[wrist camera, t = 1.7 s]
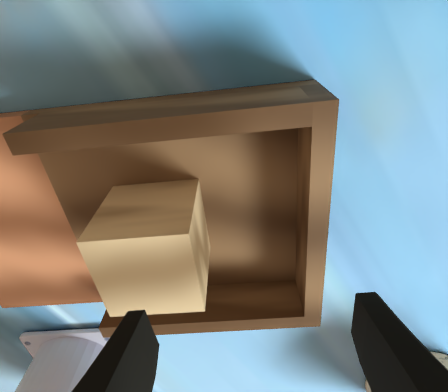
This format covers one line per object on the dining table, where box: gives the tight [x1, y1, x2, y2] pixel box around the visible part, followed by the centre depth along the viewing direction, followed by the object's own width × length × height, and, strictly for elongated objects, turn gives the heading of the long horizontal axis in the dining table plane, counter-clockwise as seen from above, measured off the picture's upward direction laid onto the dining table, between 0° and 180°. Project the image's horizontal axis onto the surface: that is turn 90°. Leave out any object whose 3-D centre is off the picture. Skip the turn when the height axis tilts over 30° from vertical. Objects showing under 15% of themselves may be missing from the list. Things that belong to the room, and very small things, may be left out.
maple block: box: [76, 179, 210, 317], centre depth 17 cm, size 5×5×5 cm
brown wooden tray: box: [0, 80, 339, 338], centre depth 18 cm, size 14×23×4 cm, turn 96°
